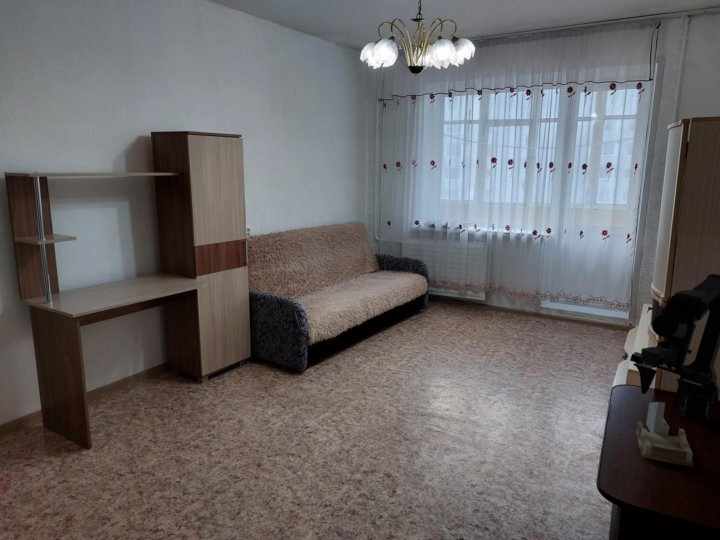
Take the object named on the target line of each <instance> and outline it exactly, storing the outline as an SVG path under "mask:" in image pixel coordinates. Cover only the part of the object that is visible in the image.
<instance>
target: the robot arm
mask: <svg viewBox="0 0 720 540" xmlns="http://www.w3.org/2000/svg"><path fill="white" fill-rule="evenodd" d="M708 311H709V312H708ZM660 313H661V314H658V315H657V316H656V317H655V318H654V319H653V320H652V324H651V325H652V329H653V331H654V333H655V334H656V335H658V336H659V337H662V338H663V340H662V341H661V340H659V341H658V343H657V345H656V346H649V347H643V348H641V350H640V351H641V352H639V351H638V352H637V351H634V352H633V353H632V354H631V355H630V359H629V362H634V363H633V366H635V368H637V371H638V373H639V378H640V379H639V380H640V390H641V391H640V393H641V394H642V395H646V394H647V393H648V392H649V389H650V387H651V385H652V383H653V381H654V378H655V377H656V374H657V372H658V370H657V369H660V370H663V371H666V372H668V373H669V372H670V373H672V374H675V375H678V376H679V378H676V383H677V388H676V393H675V394H674V399H673V402H672V406H673V407H675V408H678V407H679V406H680V407H679V408H680V410H681V413H682V415H683V417H684V418H686V419H692V420H697V421H703V422H712V419H711V417H710V416H709V413H708V412H709V407H710V404H713V403H719V398H720V389H719V386H718V384H717V380H718V375H717V373H716V370H715V368H714V367H715V366H714V365H715V362H716V359H717V356H718V352H719V350H720V274H716V273H711V274H708V275H707V276H706V279H704V280H703V281H702V282H700V283H699V284H697V285H696V286H695V287H693V288H692V289H686V290H685V289H684V290H683V289H682V290H680V291H677V292H675V293H674V294H673V295H671V297H670V298H669V300H668V301H667V303H665V305H664V306H663V308H662V310H661V311H660ZM707 313H708V317H707V319H706V322H705V325H704V328H703V331H702V336H701V338H700V341H699V345H698V349H697V353H696V354H695V357H694V358H695V359H694V361H692V362H691V363H690V364H686V365H685V362H686V359H687V356H688V355H692V352H693V350H692V349H690V345H691V343H692V339H693V335H694V332H695V331H696V330H695V329H696V328H697V323H698V322H699V321H701V320H702V319H703V317H705V316H706V314H707ZM655 368H657V369H655ZM683 402H684V406H682V405H681V404H682V403H683Z"/></svg>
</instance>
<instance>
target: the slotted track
mask: <svg viewBox="0 0 720 540" xmlns="http://www.w3.org/2000/svg"><path fill="white" fill-rule="evenodd" d="M635 434H636V438H637V439H638V440H637V443H638V448H639V450H640V453H641V457H642V458H644V459H650V460H655V461H660V462H665V463H671V464H675V465H682V466H686V467H692V468H693V467H694V464H695V463H694V461H693V451H692V449H691V446H690V444H689V442H688V440H687V438H688V437H687V434H686V431H685V429H683V428H678V433H677V436H676V435H675V436H674V435H669V434H668V435H664V434H659V433H653V432H650V431H648V430H647V429H646V428H645V427H644V425H643V422H642V421H637V425H636V429H635Z"/></svg>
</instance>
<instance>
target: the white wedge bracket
mask: <svg viewBox="0 0 720 540" xmlns="http://www.w3.org/2000/svg"><path fill="white" fill-rule="evenodd" d="M665 408H666V402H664V401H655V402H649V403H648V410H647V416H646V423H645V425H646V427H647V428H648V430H649V432H653V433H659V434H664V435H669V432H670V431H669V430H670V425H669V424H668V423H667V421H666V420H665V418H664V414H665Z"/></svg>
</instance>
